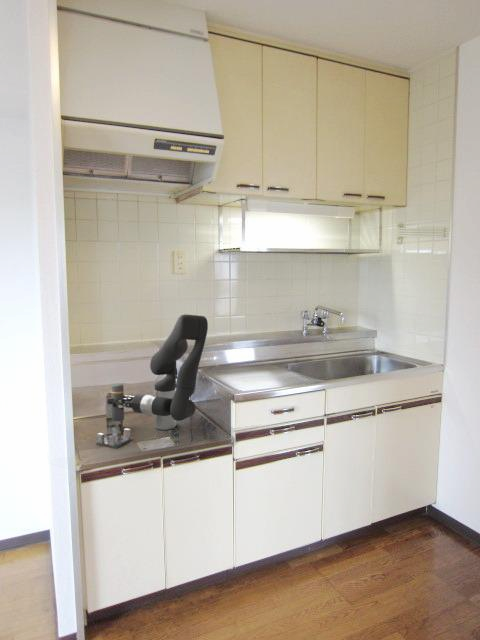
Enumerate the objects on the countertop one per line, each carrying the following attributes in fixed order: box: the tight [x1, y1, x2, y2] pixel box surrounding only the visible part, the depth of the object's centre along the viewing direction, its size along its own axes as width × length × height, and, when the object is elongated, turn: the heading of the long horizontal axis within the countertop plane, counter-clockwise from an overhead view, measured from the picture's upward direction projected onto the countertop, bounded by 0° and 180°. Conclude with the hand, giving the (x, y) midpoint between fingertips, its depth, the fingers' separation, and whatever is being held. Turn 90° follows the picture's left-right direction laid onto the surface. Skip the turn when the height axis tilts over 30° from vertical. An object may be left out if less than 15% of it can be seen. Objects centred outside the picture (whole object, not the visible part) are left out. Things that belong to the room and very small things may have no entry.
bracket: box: [95, 426, 133, 449], centre depth 186 cm, size 10×10×4 cm
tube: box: [110, 383, 125, 421], centre depth 183 cm, size 5×5×14 cm
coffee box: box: [105, 392, 124, 435], centre depth 199 cm, size 9×6×16 cm
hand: (112, 399), depth 184 cm, fingers closed on tube, 4 cm apart
